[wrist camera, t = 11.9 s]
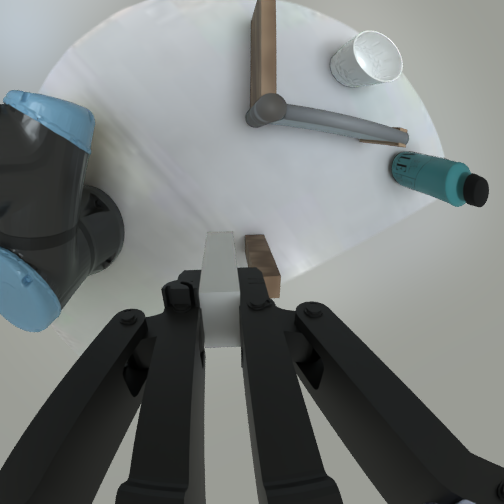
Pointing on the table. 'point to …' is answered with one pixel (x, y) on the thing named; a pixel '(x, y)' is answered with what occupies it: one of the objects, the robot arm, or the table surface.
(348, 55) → the white cup
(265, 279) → the gate frame
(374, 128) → the gate panel
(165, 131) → the table surface
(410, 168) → the beverage bottle
